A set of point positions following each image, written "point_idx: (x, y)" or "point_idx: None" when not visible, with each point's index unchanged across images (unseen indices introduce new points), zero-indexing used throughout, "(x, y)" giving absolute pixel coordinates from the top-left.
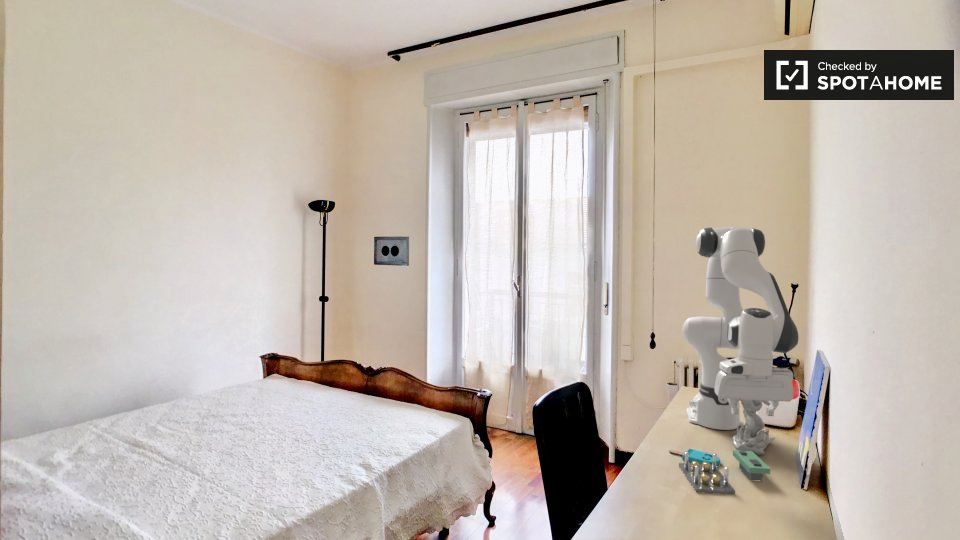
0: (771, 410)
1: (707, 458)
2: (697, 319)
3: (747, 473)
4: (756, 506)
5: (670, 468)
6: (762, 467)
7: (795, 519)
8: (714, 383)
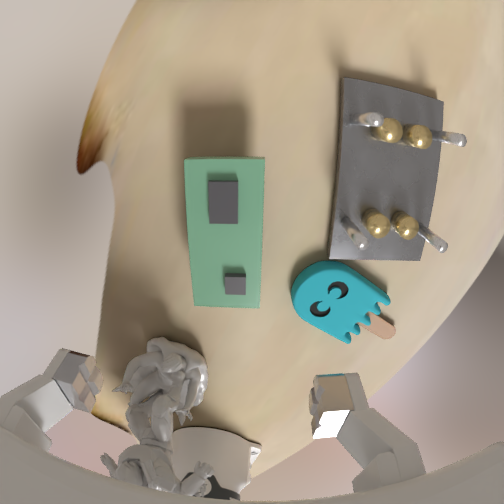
0: (55, 378)
1: (334, 290)
2: None
3: None
4: (304, 16)
5: None
6: (210, 167)
7: None
8: None
